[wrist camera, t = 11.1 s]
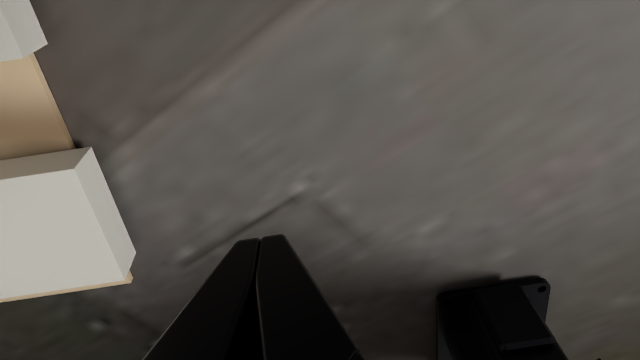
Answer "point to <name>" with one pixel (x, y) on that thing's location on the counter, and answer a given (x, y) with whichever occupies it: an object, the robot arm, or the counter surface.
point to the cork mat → (32, 127)
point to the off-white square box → (59, 225)
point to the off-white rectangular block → (19, 30)
